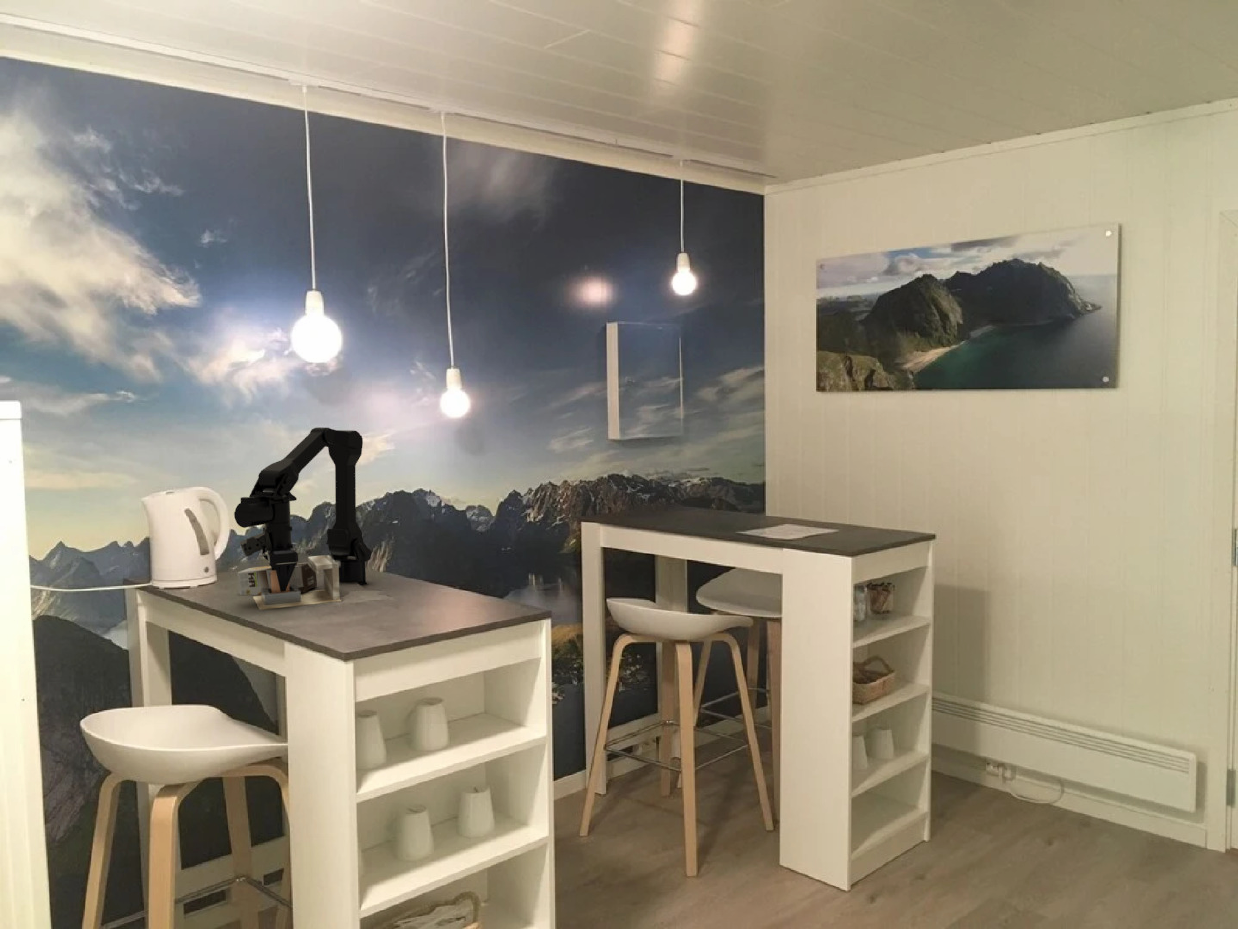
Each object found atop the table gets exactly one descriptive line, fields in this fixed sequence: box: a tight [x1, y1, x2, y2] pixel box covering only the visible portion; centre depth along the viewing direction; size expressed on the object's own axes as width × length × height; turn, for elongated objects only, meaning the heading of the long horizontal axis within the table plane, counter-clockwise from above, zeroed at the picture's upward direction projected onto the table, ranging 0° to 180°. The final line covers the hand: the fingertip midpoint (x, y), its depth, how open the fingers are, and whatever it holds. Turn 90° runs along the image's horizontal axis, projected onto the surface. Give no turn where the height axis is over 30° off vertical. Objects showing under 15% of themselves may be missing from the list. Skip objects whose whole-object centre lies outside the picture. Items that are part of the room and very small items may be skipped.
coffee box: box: [236, 562, 318, 596], centre depth 240 cm, size 9×6×16 cm
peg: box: [271, 570, 290, 593], centre depth 229 cm, size 4×4×7 cm
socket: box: [260, 585, 301, 606], centre depth 230 cm, size 8×8×2 cm
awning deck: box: [252, 554, 342, 611], centre depth 231 cm, size 18×15×10 cm
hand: (280, 587), depth 229 cm, fingers open, 9 cm apart
